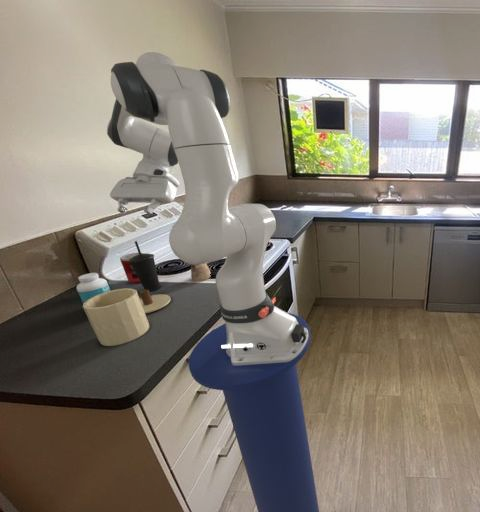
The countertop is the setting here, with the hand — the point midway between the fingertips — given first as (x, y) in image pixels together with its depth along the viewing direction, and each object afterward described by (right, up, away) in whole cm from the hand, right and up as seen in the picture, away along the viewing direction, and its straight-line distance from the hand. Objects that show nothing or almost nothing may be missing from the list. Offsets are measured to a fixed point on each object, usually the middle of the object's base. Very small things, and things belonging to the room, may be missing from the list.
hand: (134, 212), depth 92 cm
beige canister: (+1, -38, -5) cm, 38 cm away
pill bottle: (-17, -33, +7) cm, 38 cm away
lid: (-3, -32, +10) cm, 33 cm away
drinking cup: (-12, -27, +22) cm, 37 cm away
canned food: (-23, -24, +29) cm, 45 cm away
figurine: (+2, -24, +31) cm, 39 cm away
